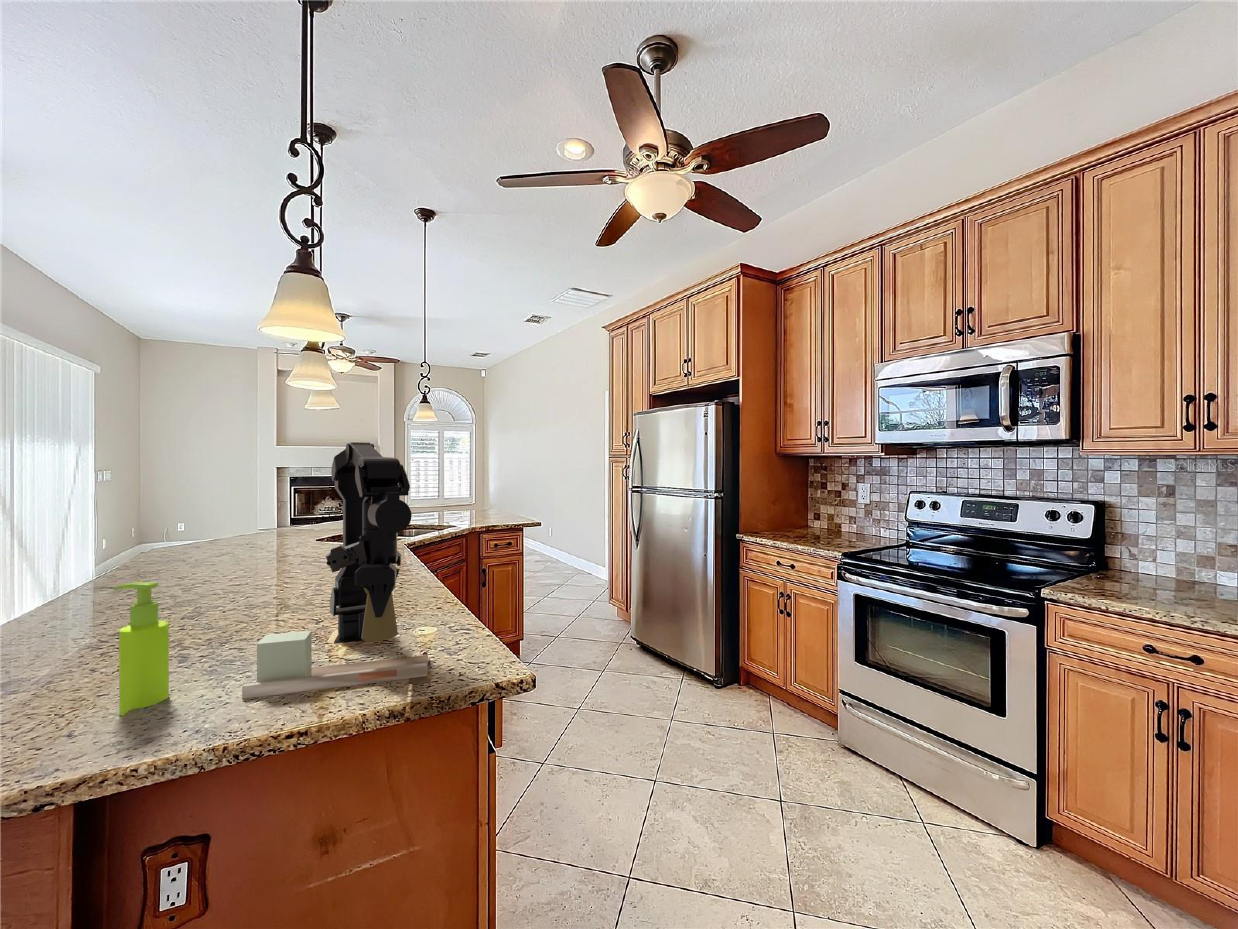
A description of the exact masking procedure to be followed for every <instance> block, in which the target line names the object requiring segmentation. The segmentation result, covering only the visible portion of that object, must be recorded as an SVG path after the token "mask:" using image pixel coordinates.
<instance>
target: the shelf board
mask: <svg viewBox="0 0 1238 929" xmlns="http://www.w3.org/2000/svg"><path fill="white" fill-rule="evenodd" d="M428 666H429V655H428V654H422V655H413V656H406V657H398V658H397V657H396V658H388V659H379V660H377V659H376V660H370V661H369V660H368V661H361V662H360V661H359V662H351V663H342V664H333V665H324V666H314V667H312V676H308V677H299V678H291V679H282V680H273V681H265V682H257V680H256V681H255V682H251V683H250V682H249V683H248V682H247V683H244V684H243V685H241V695H242V696H241V699H242V700H245V699H254V698H262V697H271V696H277V695H285V694H292V693H293V694H294V693H302V692H310V691H317V690H325V689H327V690H328V689H334V688H335V689H336V688H343V687H350V686H360V685H367V684H375V683H382V682H389V681H399V680H406V679H407V680H408V684H413V685H418V684H419V685H420V684H427V683H428V670H429V669H428V668H429V667H428Z"/></svg>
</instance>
